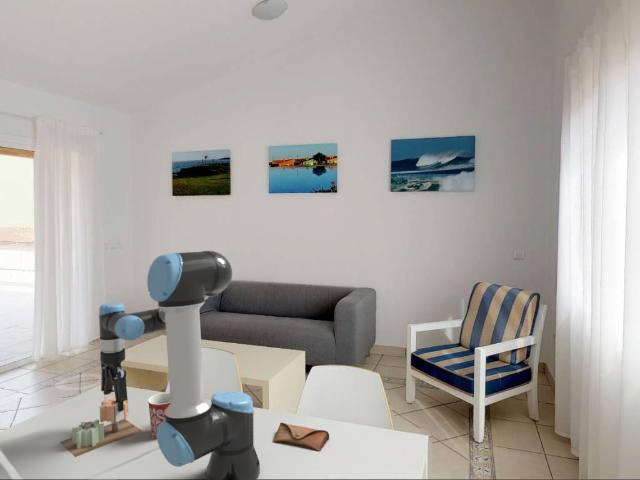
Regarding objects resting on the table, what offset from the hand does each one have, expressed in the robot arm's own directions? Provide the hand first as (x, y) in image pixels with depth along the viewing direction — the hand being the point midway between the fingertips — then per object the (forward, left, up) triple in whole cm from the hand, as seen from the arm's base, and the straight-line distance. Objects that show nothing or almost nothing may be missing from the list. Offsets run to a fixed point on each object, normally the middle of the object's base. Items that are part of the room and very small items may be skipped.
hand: (114, 416), depth 147 cm
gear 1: (0, +9, -5) cm, 10 cm away
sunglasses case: (-49, -39, -7) cm, 63 cm away
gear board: (0, +4, -7) cm, 8 cm away
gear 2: (0, 0, 0) cm, 0 cm away
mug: (-13, -12, -7) cm, 19 cm away
